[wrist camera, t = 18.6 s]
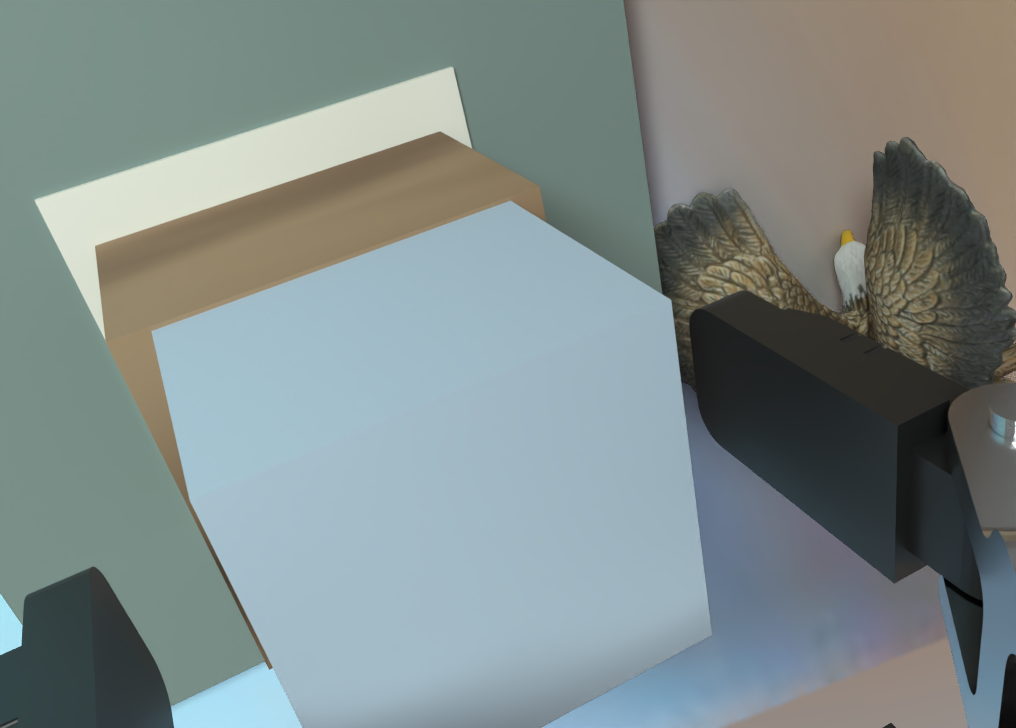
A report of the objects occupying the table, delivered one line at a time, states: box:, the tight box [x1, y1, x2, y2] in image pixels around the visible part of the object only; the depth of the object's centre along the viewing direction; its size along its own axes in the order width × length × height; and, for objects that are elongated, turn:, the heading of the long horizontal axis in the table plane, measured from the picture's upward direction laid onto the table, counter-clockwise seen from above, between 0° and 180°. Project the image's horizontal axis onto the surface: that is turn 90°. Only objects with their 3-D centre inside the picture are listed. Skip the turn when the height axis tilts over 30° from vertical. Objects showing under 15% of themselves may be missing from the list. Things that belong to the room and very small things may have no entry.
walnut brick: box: [95, 131, 546, 670], centre depth 15 cm, size 6×6×4 cm
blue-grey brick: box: [151, 201, 712, 728], centre depth 11 cm, size 5×5×4 cm
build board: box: [0, 0, 662, 706], centre depth 17 cm, size 14×14×1 cm
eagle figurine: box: [654, 137, 1016, 392], centre depth 21 cm, size 8×7×9 cm
